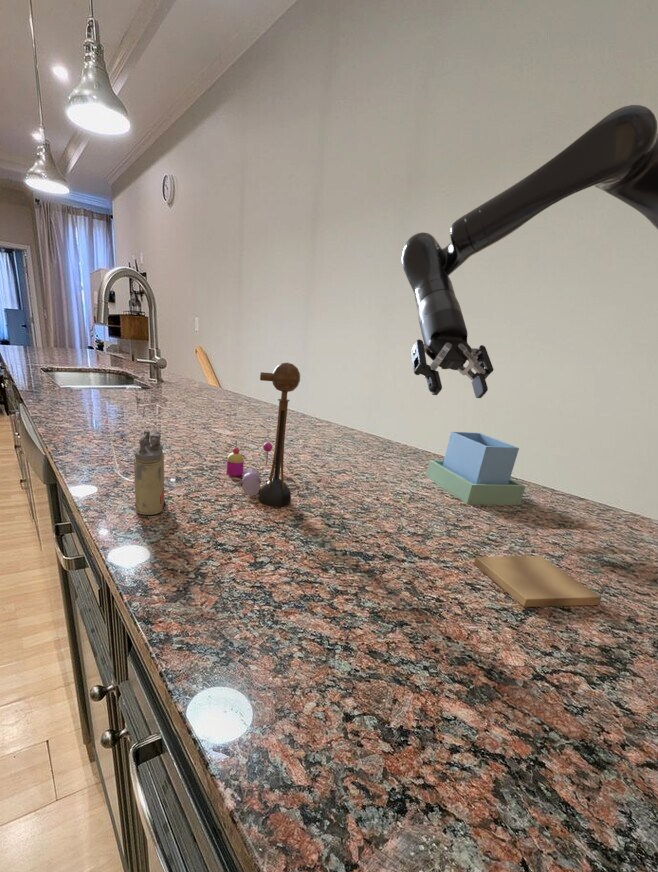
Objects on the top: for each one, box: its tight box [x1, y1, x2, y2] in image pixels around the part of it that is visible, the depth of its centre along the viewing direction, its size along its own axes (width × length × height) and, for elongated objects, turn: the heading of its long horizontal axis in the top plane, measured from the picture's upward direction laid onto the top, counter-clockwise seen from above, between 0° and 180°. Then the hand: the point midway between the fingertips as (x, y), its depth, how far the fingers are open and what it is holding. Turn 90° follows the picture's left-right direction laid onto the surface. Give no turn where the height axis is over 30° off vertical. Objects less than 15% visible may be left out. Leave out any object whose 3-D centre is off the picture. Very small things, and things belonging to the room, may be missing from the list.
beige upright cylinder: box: [133, 430, 166, 516], centre depth 60 cm, size 7×4×10 cm, turn 8°
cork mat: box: [473, 555, 602, 608], centre depth 50 cm, size 9×9×1 cm
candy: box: [226, 439, 273, 497], centre depth 76 cm, size 18×8×6 cm, turn 2°
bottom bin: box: [425, 459, 527, 506], centre depth 74 cm, size 9×13×5 cm
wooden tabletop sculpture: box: [258, 362, 301, 508], centre depth 63 cm, size 6×5×20 cm
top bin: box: [443, 431, 520, 485], centre depth 73 cm, size 6×10×10 cm, turn 10°
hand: (459, 393), depth 78 cm, fingers open, 8 cm apart
